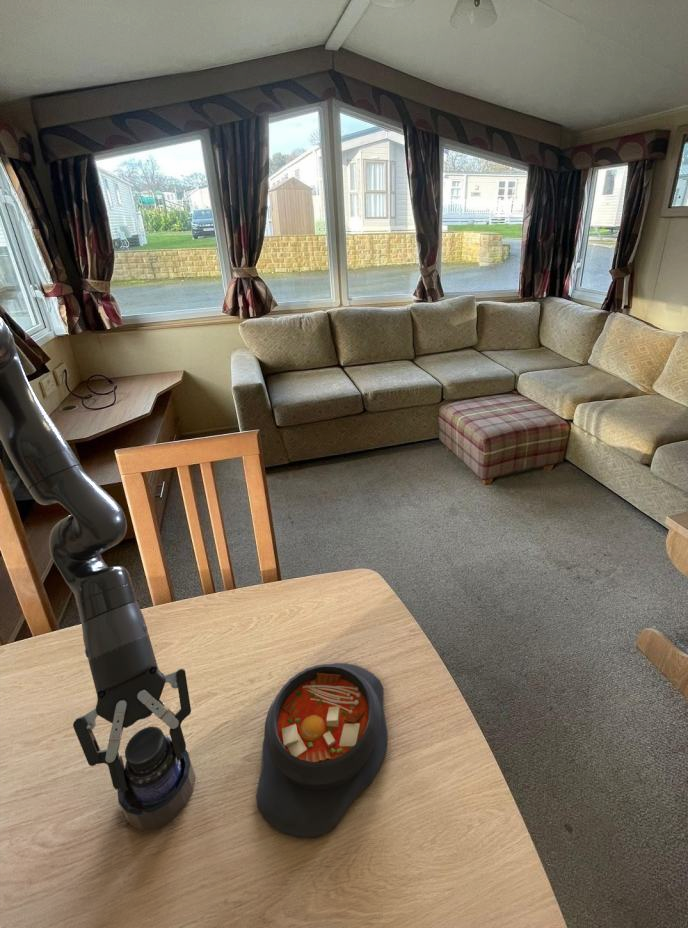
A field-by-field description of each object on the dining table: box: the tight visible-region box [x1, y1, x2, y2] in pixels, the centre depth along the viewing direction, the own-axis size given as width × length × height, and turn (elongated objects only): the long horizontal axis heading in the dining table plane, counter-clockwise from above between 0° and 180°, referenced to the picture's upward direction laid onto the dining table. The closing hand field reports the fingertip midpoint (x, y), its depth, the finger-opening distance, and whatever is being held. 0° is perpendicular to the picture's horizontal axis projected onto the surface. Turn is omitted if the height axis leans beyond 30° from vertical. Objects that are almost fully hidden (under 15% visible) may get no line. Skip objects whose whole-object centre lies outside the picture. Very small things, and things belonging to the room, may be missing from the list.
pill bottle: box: [124, 726, 184, 810], centre depth 65 cm, size 6×6×11 cm
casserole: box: [255, 662, 389, 839], centre depth 71 cm, size 25×19×8 cm
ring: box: [116, 749, 196, 831], centre depth 66 cm, size 9×9×5 cm
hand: (153, 772), depth 63 cm, fingers closed on pill bottle, 6 cm apart
